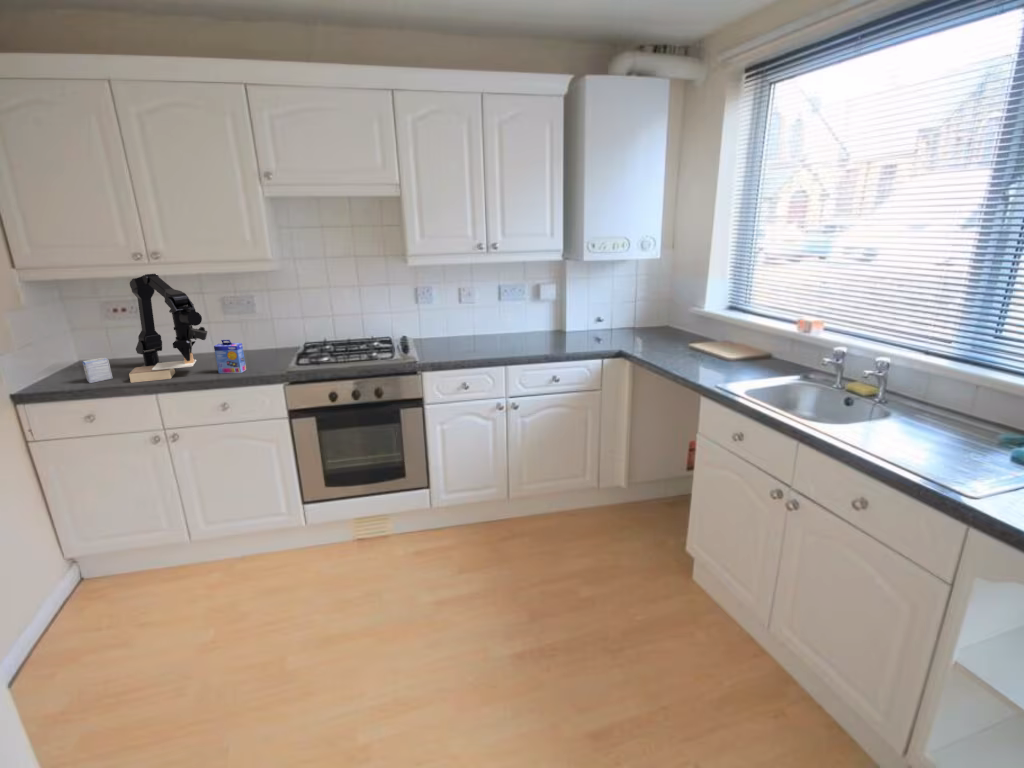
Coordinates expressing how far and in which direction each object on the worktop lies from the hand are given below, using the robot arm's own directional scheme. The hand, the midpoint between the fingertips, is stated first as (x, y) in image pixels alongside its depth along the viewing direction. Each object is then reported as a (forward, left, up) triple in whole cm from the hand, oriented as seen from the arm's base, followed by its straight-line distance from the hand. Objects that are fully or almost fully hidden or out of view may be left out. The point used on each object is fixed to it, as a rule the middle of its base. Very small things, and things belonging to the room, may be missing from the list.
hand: (189, 360), depth 228 cm
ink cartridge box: (+4, +16, -6) cm, 18 cm away
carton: (0, -14, -6) cm, 15 cm away
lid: (0, -5, -2) cm, 6 cm away
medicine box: (-5, -34, -6) cm, 35 cm away
